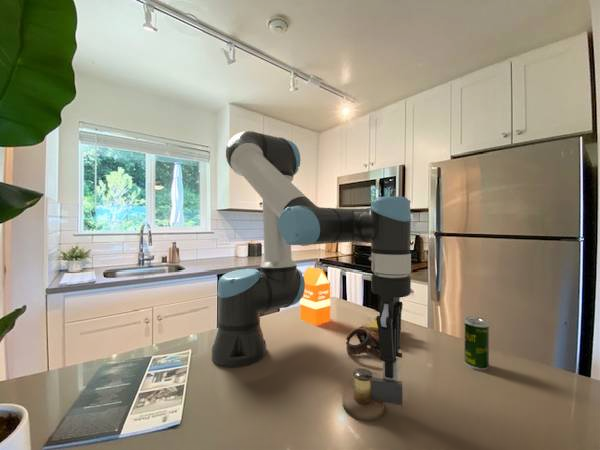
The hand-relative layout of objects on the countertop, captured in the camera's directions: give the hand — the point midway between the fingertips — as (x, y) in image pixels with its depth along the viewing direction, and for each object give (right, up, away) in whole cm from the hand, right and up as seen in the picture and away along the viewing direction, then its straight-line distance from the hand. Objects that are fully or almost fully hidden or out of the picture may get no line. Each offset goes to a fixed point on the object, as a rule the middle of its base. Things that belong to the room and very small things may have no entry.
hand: (390, 390), depth 55 cm
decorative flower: (+9, -3, +36) cm, 37 cm away
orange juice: (-13, -3, +49) cm, 51 cm away
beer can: (+28, -3, +16) cm, 32 cm away
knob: (-3, -2, -1) cm, 4 cm away
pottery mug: (0, -4, +23) cm, 23 cm away
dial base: (-6, -3, 0) cm, 7 cm away
